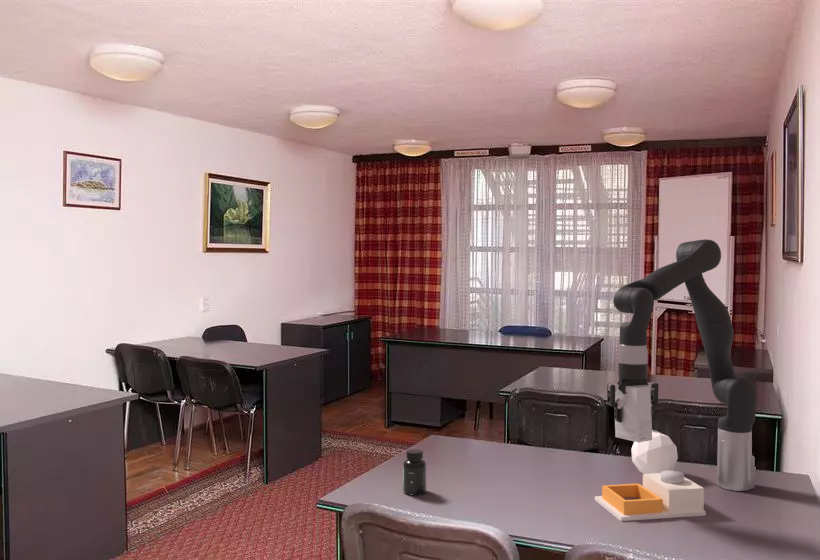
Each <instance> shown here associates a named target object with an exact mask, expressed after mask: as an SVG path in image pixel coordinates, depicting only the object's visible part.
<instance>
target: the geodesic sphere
mask: <svg viewBox="0 0 820 560" xmlns="http://www.w3.org/2000/svg"><path fill="white" fill-rule="evenodd" d="M677 448H678V447H677V445H676V444H675V443H674V441H672V439H671V438H670V436H668V435H666V434H663V433H662V432H659V431H658V430H654V429H652V440H650V441H644V442H640V443H639V442H634V441H633V444H632V447H631V449H630V450H631V462H632V464H633V465H634V466H635V467H636V469H637V470H638V471H639V472H640V473H642V474H650V473H661V472H662V471H665V470H673V471H675V467H676V464H677V462H678V457H679V456H678V450H677Z"/></svg>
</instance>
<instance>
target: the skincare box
mask: <svg viewBox="0 0 820 560" xmlns="http://www.w3.org/2000/svg"><path fill="white" fill-rule="evenodd" d="M625 387H626V392H627V391H628V392H627V401H626V402H625V403H624V404H623V406H622V407H621V409H622V422H621V423H619V422H617V421H616V420H615V419H614V428H615V429H614V431H615V435H614V436H615V438H618V439H623V440H625V441H631V442H633V443H634V442H639V443H640V442H644V441H650V440H652V430H653V423H652V421H653V420H652V419H653V418H652V407H651V394H650V385H634V386H625ZM626 392H625V393H626ZM619 396H620V397H623V396H624V394H623V393H622V391H621V390H619V389H617V391H616V392H615V401H616V399H617V397H619ZM619 401H620V400H619Z"/></svg>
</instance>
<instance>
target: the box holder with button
mask: <svg viewBox="0 0 820 560" xmlns="http://www.w3.org/2000/svg"><path fill="white" fill-rule="evenodd" d="M594 501H595V502H596V503H598V504H599V505H601V506H602V507H603V508H604V509H605V510H607V511H608V512H609V513H610V514H612V515H613V516H614V517H615V518H617V519H618V520H619V522H628V521H629V522H631V521H645V520H657V519H660V520H661V519H674V518H687V517H701V516H703V517H704V516H707V512H706V510H705V509H704V507H705V506H704V505H705V489H704V487H702V486H701V485H699V484H697V483H695V482H694V481H692V480H691V479H688V478H687V477H685V474H684V473H683V472H682V471H678V470H665V471H662V472H661V473H650V474H644V473H642V484H640V483H624V484H623V483H622V484H608V485H607V484H606V485H602V486H601V495H597V496H596V495H595V496H594Z"/></svg>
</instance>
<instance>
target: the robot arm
mask: <svg viewBox="0 0 820 560" xmlns="http://www.w3.org/2000/svg"><path fill="white" fill-rule="evenodd" d="M675 259H676V261H675V262H672V263H669V264H667V265H664V266H661V267H659V268H657V269H656V270H654V271H652V272H651V273H649V274H648V275H646V276H645V277H643V278H641V279H639V280H635V281H632V282H631V283H630V282H629V283H627V284H624V285H623V286H621V287H620V288H618V289H617V291H615V293H614V295H613V301H612V302H613V306H614V308H615V309H616V310H617V311H618V312H621V313H623V314H632V318H631V320H630V321H626V322H622V323H621V324H620V326H619V346H618V347H619V348H618V370H617V371H618V373H617V375H618V382H617V383H610V382H609V383H607V385H606V403H607V406H610V407H611V408H612V407H613V411H614V413H613V414H614V415H613V418H614V421H615V420H616V421H617V422H619V423H621V422H622V409H621V407H622V406H623V404H624V403H625V402H626V401H627V392H628V391H627V392H626V387H625V386H634V385H650V394H651V408H652V407H653V406H657V405H658V404H659V384H658V382H653V381H650V382H648V376H649V375H648V368H649V367H648V365H649V363H648V361H649V356H648V345H647V344H648V328H649V324H650V320H651V317H652V313H653V309H654V307H655V301H657V300H660V299H661V298H662V297H664V296H665V295H667V294H668V293H669V292H671V291H673V290H674V289H676V288H677V287H679V286H681V285H682V284H684V285H685V287H686V290H687V293H688V296H689V299H690V303H691V306H692V309H693V312H694V316H695V321H696V324H697V325H696V326H697V329H698V331H699V334H700V338H701V341H702V345H703V349H704V353H705V356H706V361H707V365H708V369H709V375H710V383H711V388H712V392H713V394H714V397H715V398H716V400H717V401H718V402H719V403H722V404H724V405H726V406H727V407H726V414H725V415H724V416H720V417H719V418H718V421H717V461H716V462H717V466H716V467H717V468H716V470H717V471H716V484H717V486H718V487H720V488H722V489H725V490H729V491H735V492H736V491H737V492H744V491H745V492H747V491H749V490H752V489H755V467H756V466H755V460H756V458H755V456H754V455H753V454H752V453H753V452H752V447H753V444H752V443H753V439H752V435H753V434H752V433H753V425H754V423H755V421H756V413H757V397H758V394H757V388H756V385H755V383H754V382H753V381H752V380H751V379H749V378H747V377H744V376H740V375H736V373H735V372H736V371H735V370H734V367H733V363H732V358H731V349H732V347H733V346H732V345H733V341H734V334H735V333H734V332H735V331H734V327H733V324H732V320H731V316H730V311H729V310H728V308H727V307H726V305H725V304H724V302H722V300H721V299H720V298H719V297H718V296H717V295H716V294H715V293H714V292H713V291H712V290H711V289H710V287H709V286H708V285H707V282H706V281H705V278H704V275H703V273H707V272H709V271H712V270H714V269H715V268H717V267H718V266H719V264H720V263H721V259H722V251H721V248H720V245H718V243H717V242H715V240H712V239H705V238H704V239H699V240H698V239H697V240H691V241H686V242H682V243H680V244H679V245H678V246H677V248H676V251H675ZM617 389H619V390H621V391H622V393H623V394H624V396H623V397H620V396H619V397H617V399H616V401H615V392H616V391H617ZM625 392H626V393H625ZM619 400H620V401H619Z"/></svg>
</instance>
